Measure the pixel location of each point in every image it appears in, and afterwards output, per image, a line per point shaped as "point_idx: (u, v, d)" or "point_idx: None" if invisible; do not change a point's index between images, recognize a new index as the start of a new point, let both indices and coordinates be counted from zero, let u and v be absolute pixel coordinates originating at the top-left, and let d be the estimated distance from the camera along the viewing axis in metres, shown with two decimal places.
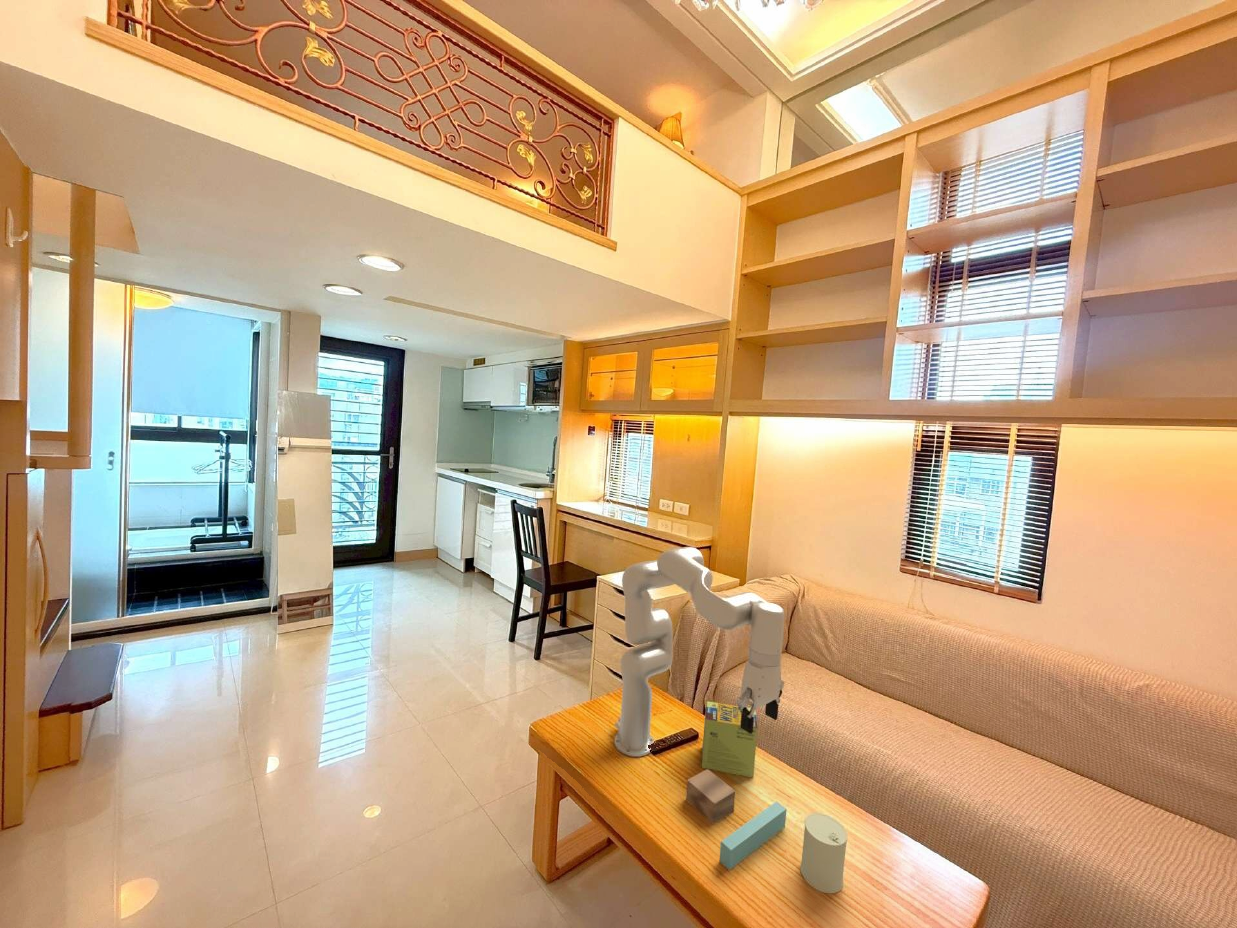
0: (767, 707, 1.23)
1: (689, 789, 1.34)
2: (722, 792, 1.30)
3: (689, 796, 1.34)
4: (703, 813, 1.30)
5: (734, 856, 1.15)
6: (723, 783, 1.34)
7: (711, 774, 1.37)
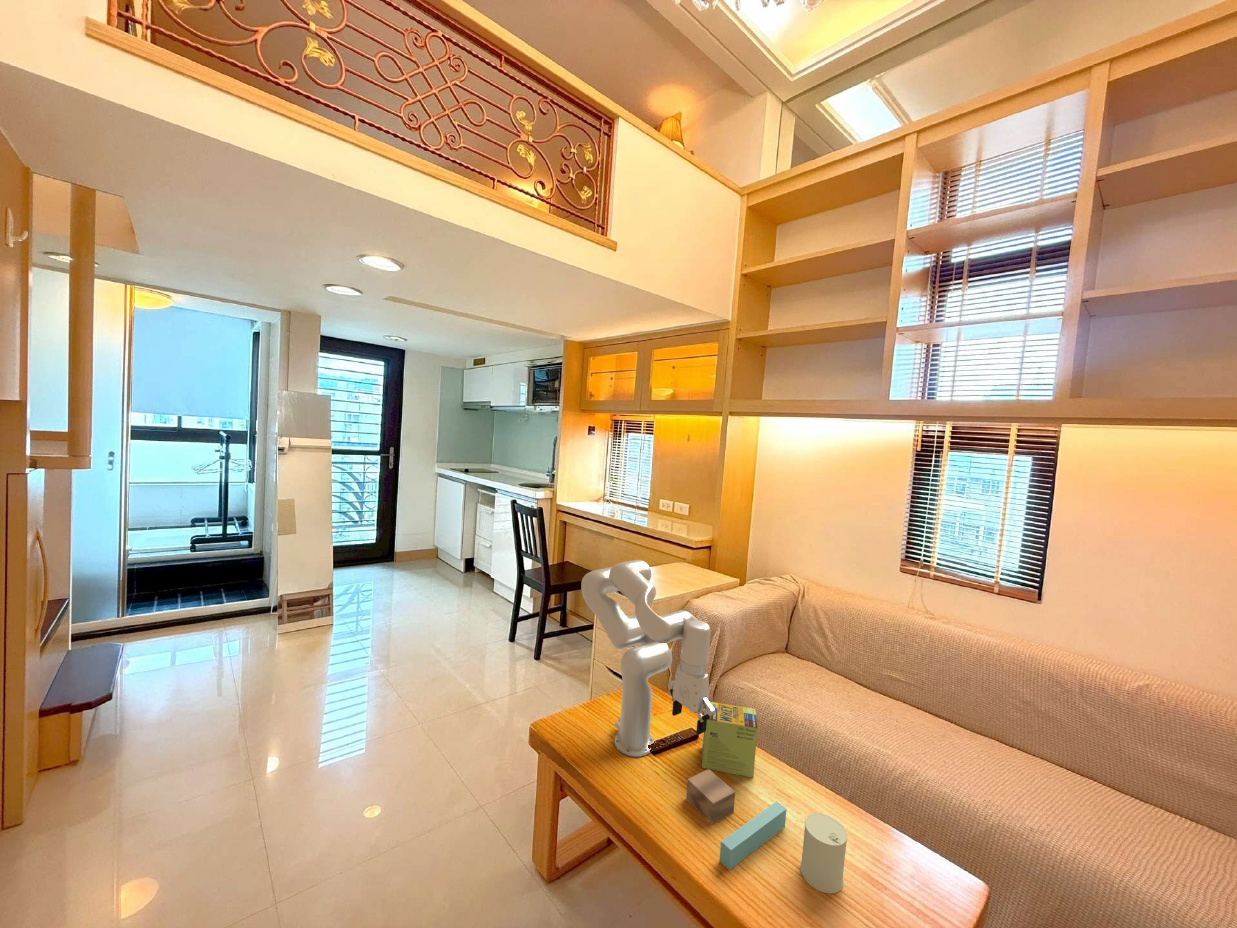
0: (676, 708, 1.42)
1: (689, 788, 1.34)
2: (721, 793, 1.30)
3: (689, 795, 1.34)
4: (702, 813, 1.30)
5: (734, 856, 1.15)
6: (723, 784, 1.34)
7: (712, 774, 1.37)
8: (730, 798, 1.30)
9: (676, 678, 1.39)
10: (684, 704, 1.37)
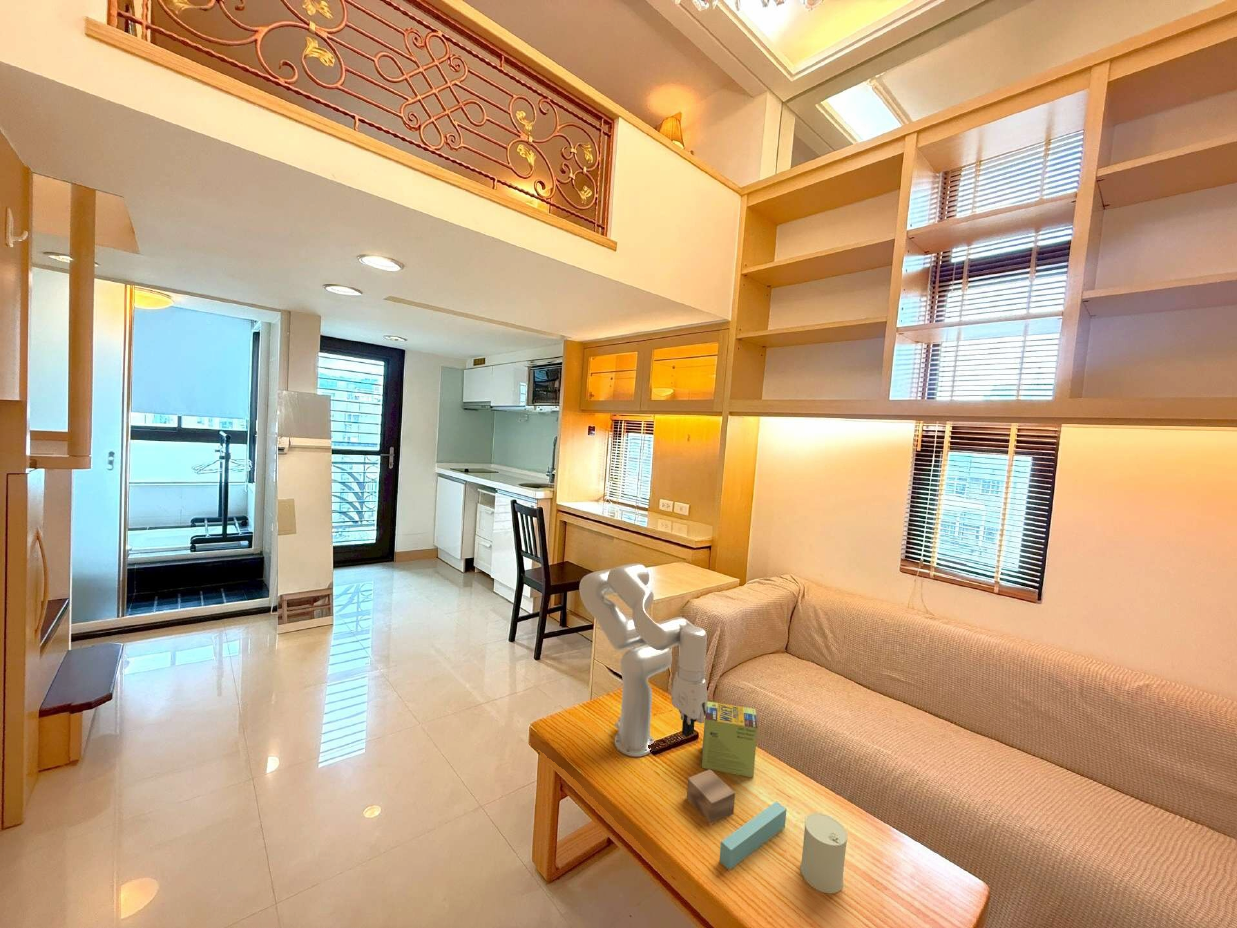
0: None
1: (689, 787, 1.34)
2: (721, 793, 1.30)
3: (689, 794, 1.34)
4: (701, 812, 1.30)
5: (734, 856, 1.15)
6: (724, 784, 1.33)
7: (713, 774, 1.37)
8: (730, 799, 1.30)
9: (674, 685, 1.40)
10: (683, 711, 1.37)
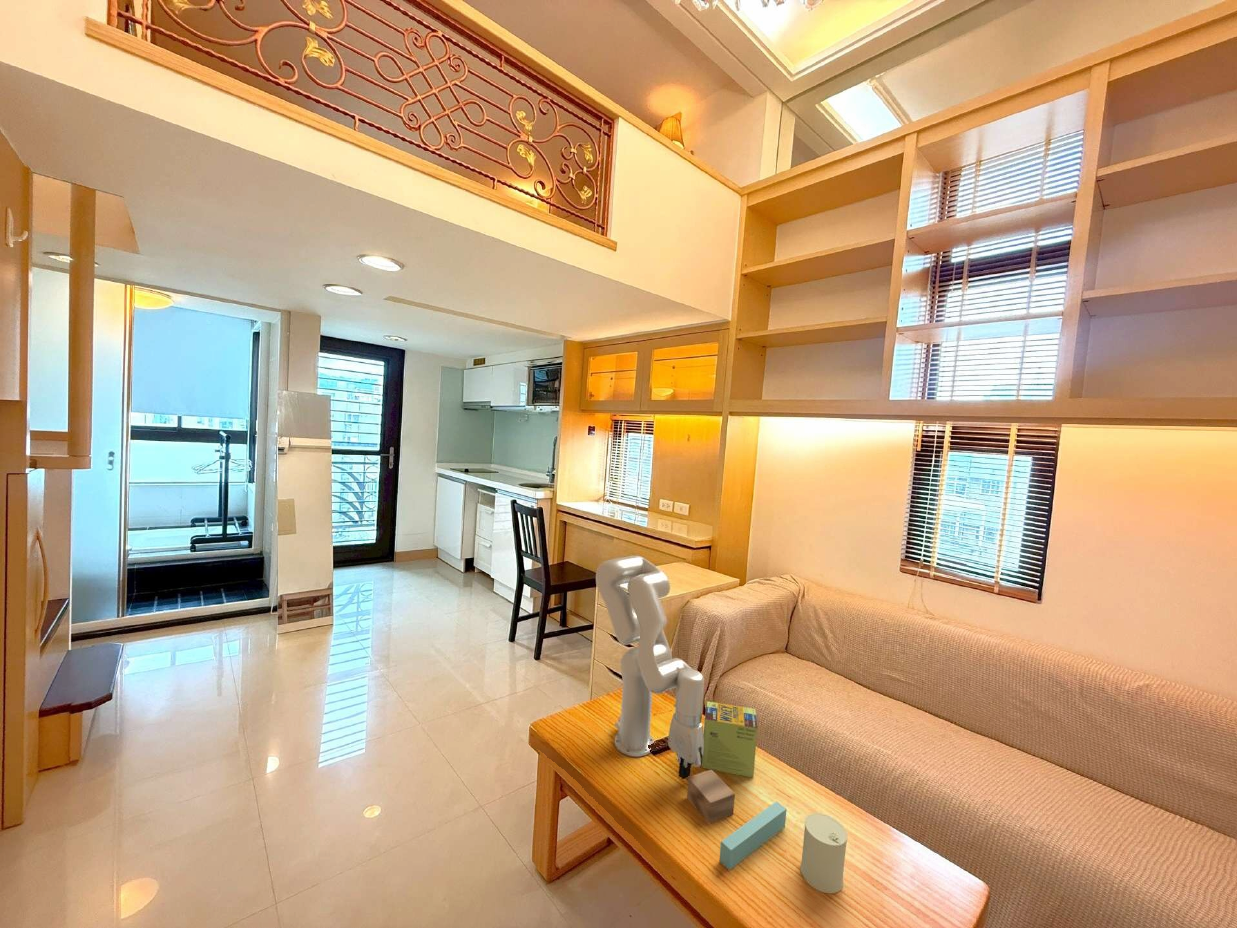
0: None
1: (689, 787, 1.35)
2: (720, 793, 1.30)
3: (689, 793, 1.35)
4: (701, 812, 1.30)
5: (734, 856, 1.15)
6: (724, 785, 1.33)
7: (714, 775, 1.37)
8: (729, 799, 1.30)
9: (671, 727, 1.41)
10: (680, 754, 1.38)
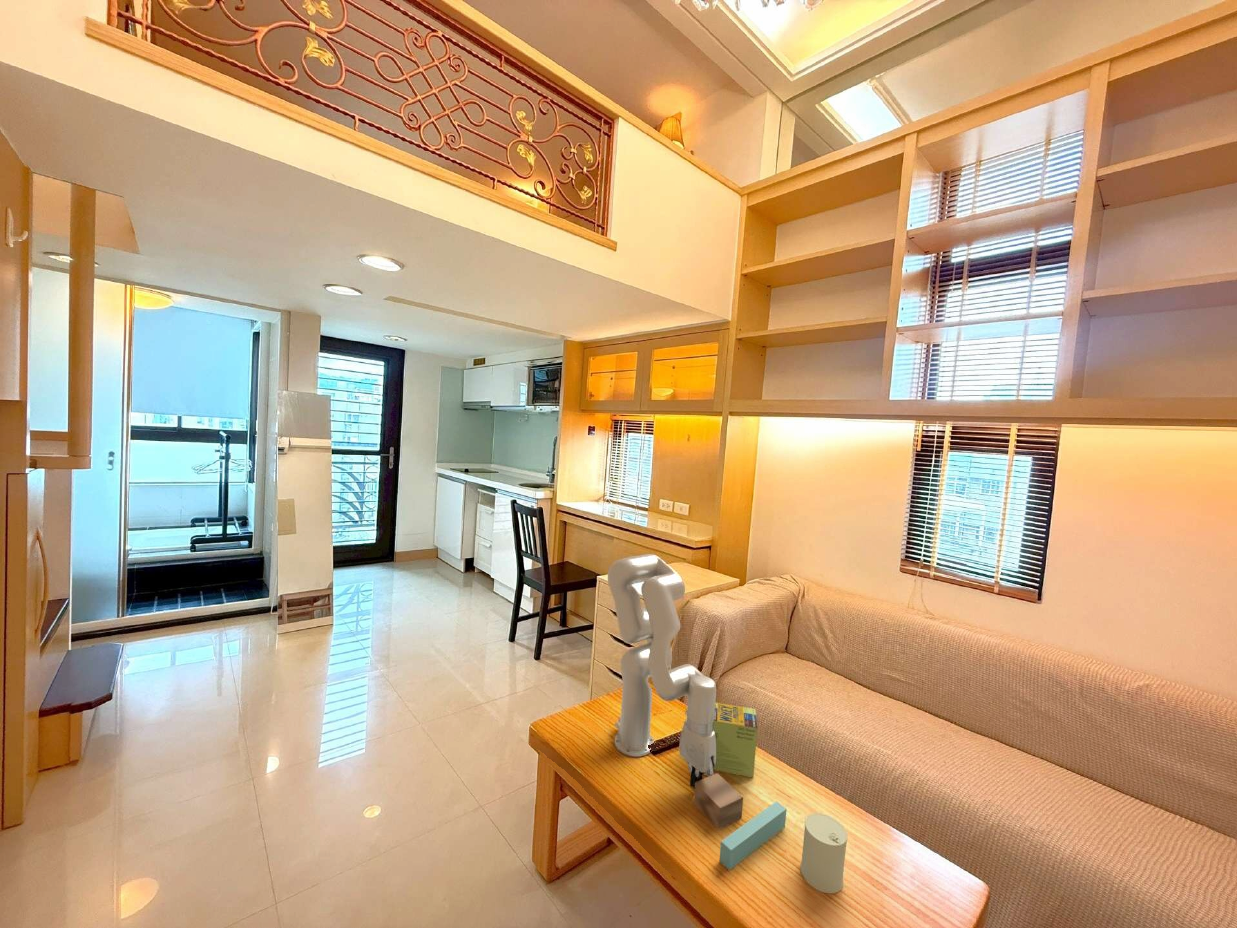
0: None
1: (696, 792, 1.33)
2: (729, 797, 1.29)
3: (697, 799, 1.33)
4: (709, 817, 1.28)
5: (734, 856, 1.15)
6: (731, 788, 1.32)
7: (720, 779, 1.35)
8: (738, 803, 1.28)
9: (682, 736, 1.38)
10: (691, 763, 1.35)
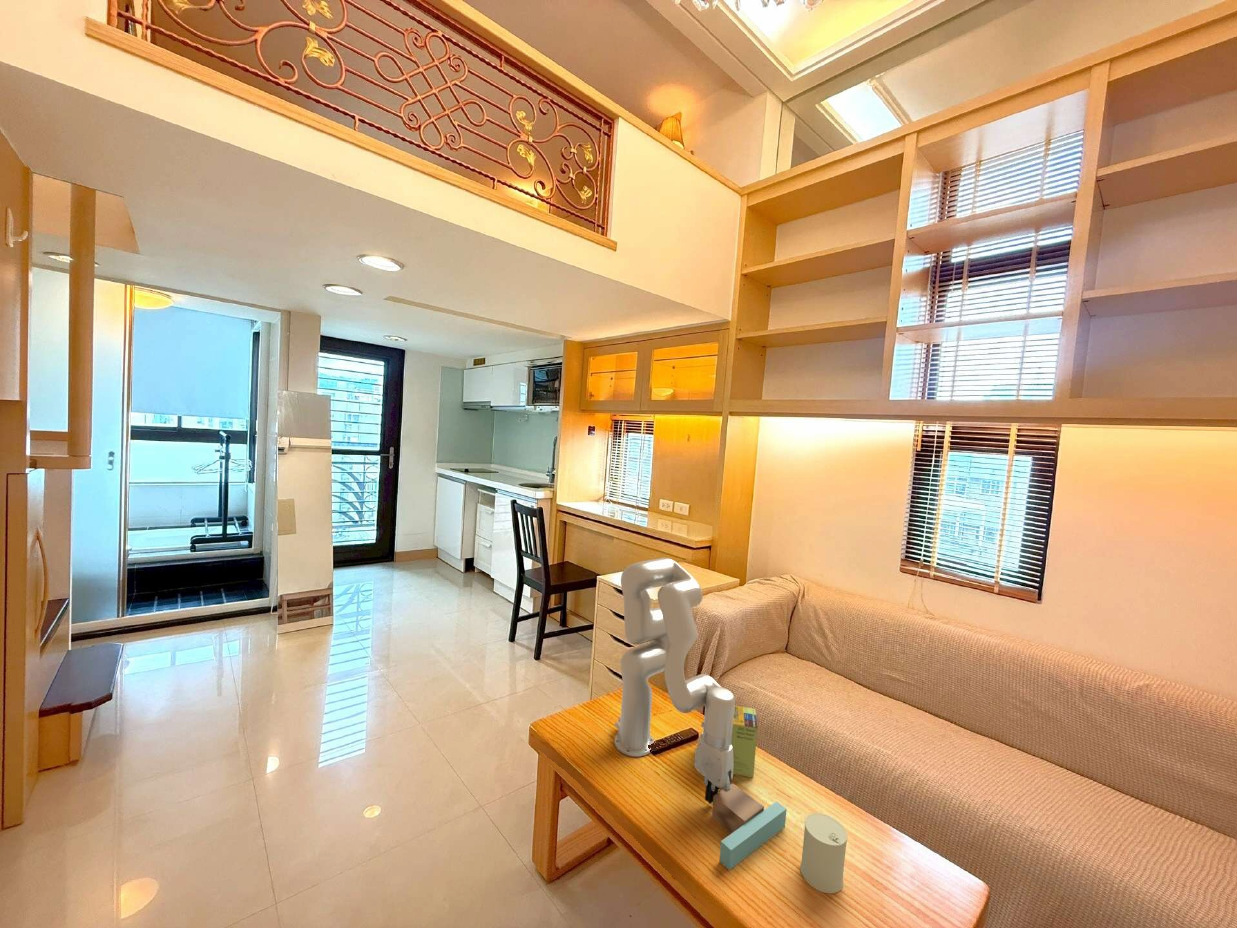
0: None
1: (715, 806, 1.28)
2: (750, 808, 1.25)
3: (716, 813, 1.28)
4: (731, 831, 1.24)
5: (734, 856, 1.15)
6: (750, 798, 1.29)
7: (737, 789, 1.32)
8: (759, 813, 1.25)
9: (698, 748, 1.33)
10: (707, 777, 1.30)
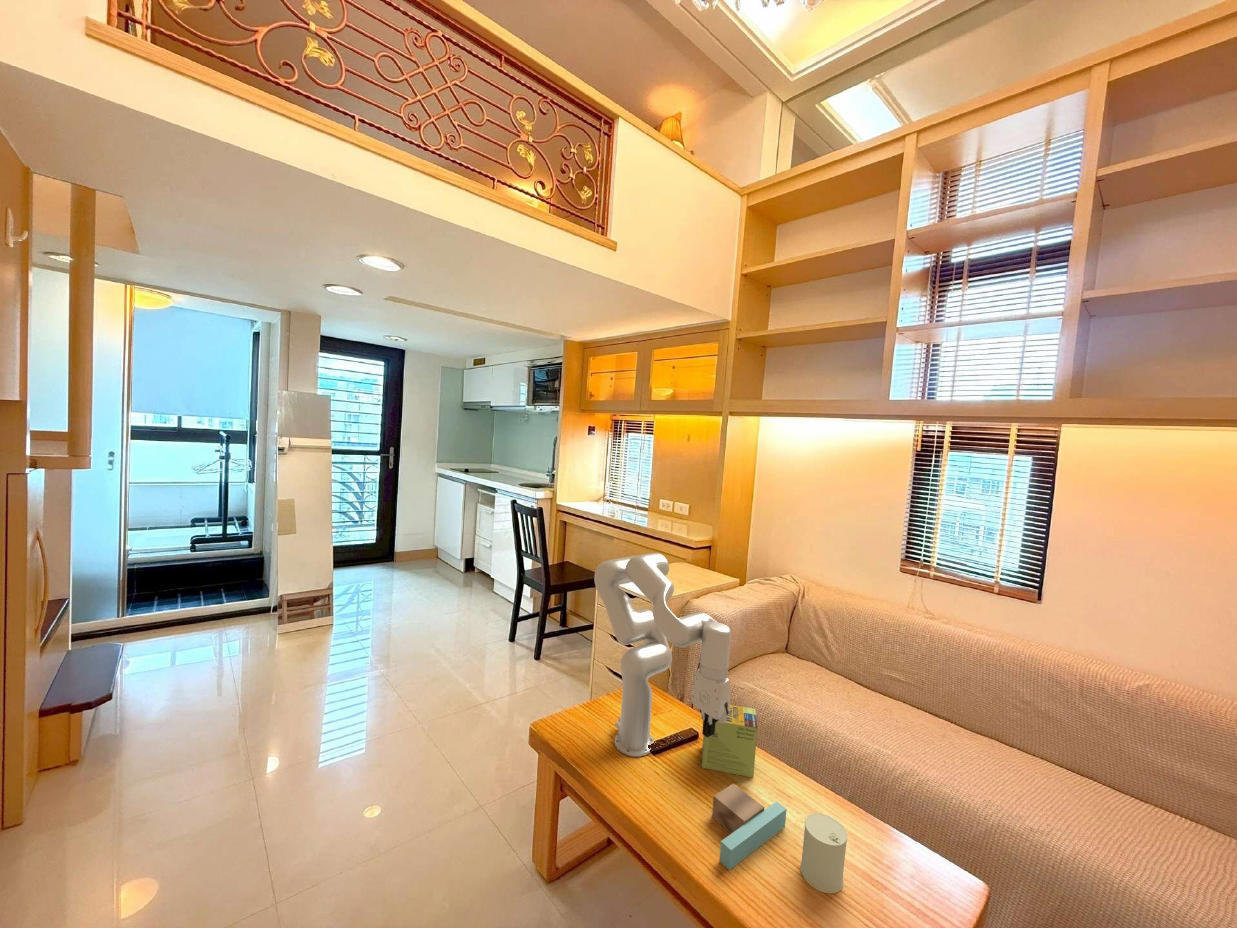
0: None
1: (715, 806, 1.29)
2: (750, 809, 1.25)
3: (716, 813, 1.28)
4: (731, 831, 1.24)
5: (734, 856, 1.15)
6: (751, 799, 1.29)
7: (737, 789, 1.32)
8: None
9: (695, 683, 1.34)
10: (704, 710, 1.31)
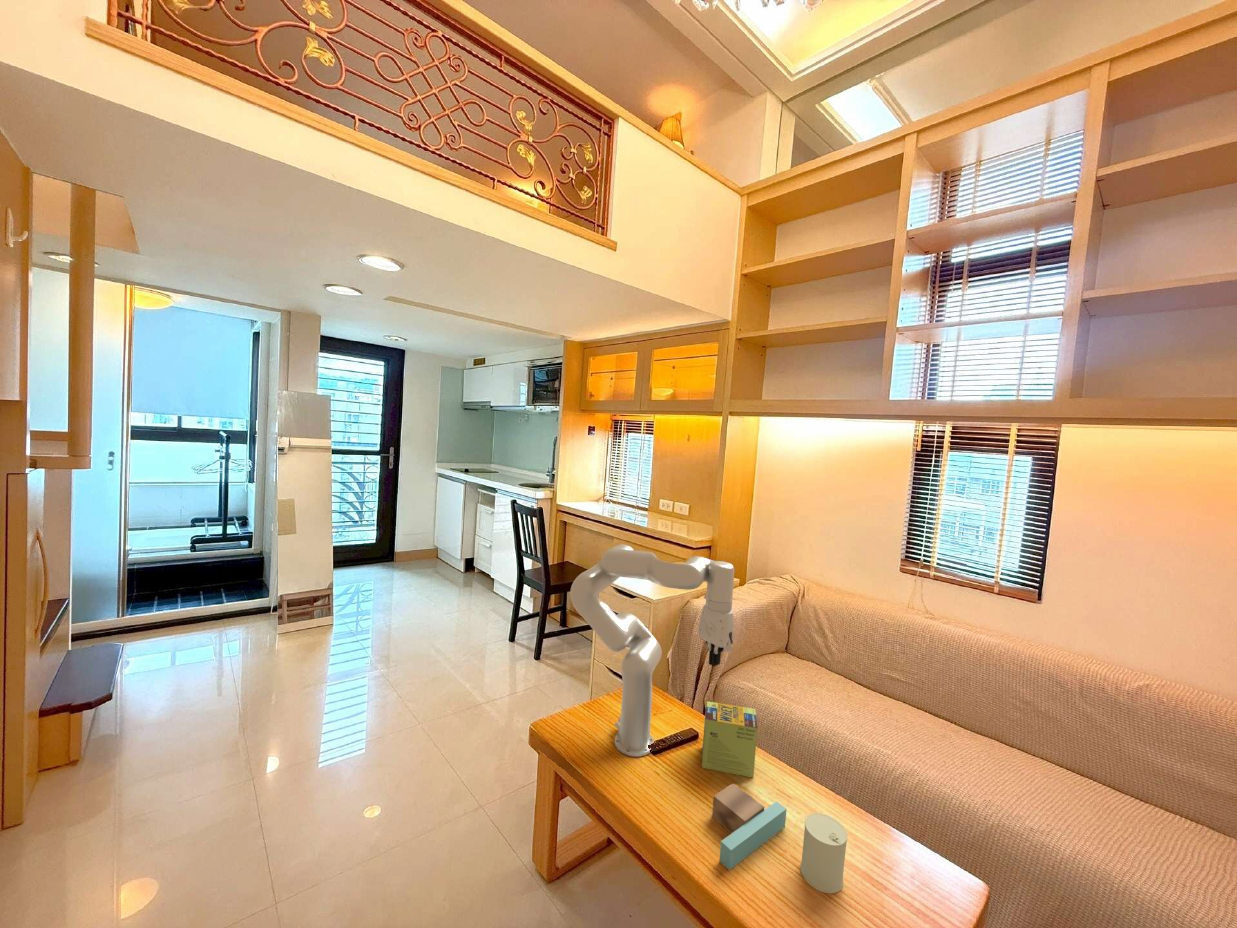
0: None
1: (716, 805, 1.29)
2: (751, 808, 1.25)
3: (716, 813, 1.28)
4: (732, 831, 1.24)
5: (734, 856, 1.15)
6: (751, 798, 1.29)
7: (737, 789, 1.32)
8: None
9: (702, 617, 1.46)
10: (710, 641, 1.43)
